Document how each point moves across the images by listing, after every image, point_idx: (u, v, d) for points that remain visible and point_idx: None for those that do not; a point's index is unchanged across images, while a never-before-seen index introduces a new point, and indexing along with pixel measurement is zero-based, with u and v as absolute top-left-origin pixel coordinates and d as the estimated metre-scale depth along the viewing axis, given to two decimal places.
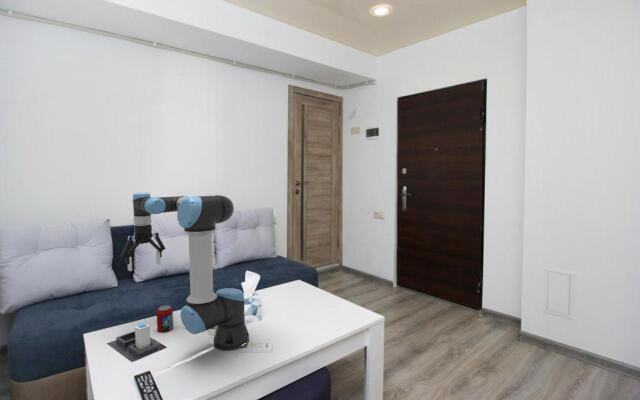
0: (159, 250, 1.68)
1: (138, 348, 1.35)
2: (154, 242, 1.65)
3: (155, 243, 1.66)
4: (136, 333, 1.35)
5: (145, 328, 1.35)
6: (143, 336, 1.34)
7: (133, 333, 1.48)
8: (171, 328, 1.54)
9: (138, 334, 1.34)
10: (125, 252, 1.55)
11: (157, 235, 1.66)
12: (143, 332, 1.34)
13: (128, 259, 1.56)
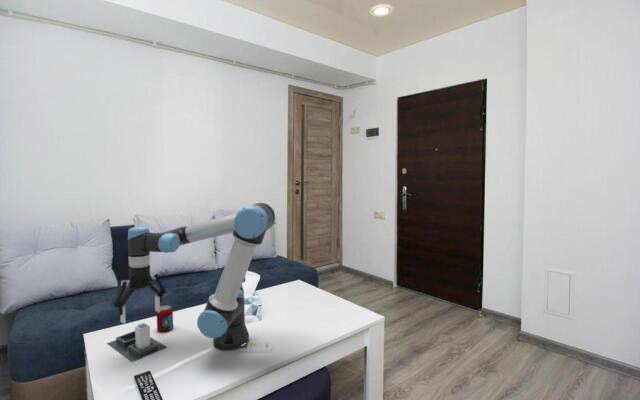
0: (159, 295, 1.40)
1: (138, 348, 1.35)
2: (153, 286, 1.38)
3: (154, 287, 1.38)
4: (136, 333, 1.35)
5: (145, 328, 1.35)
6: (143, 336, 1.34)
7: (133, 333, 1.48)
8: (171, 328, 1.54)
9: (138, 334, 1.34)
10: (117, 301, 1.27)
11: (157, 277, 1.39)
12: (143, 332, 1.34)
13: (121, 309, 1.29)
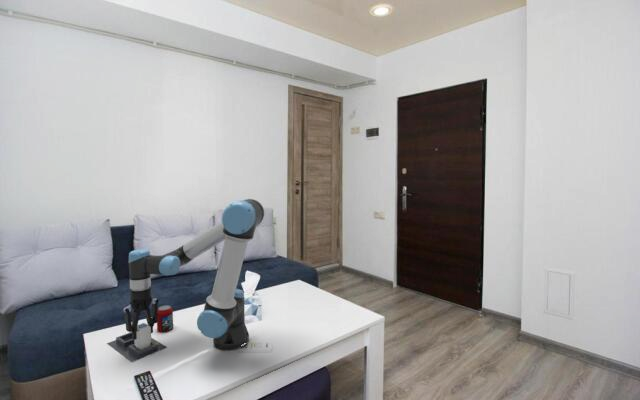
0: (150, 324, 1.37)
1: (138, 348, 1.35)
2: None
3: None
4: None
5: (145, 328, 1.35)
6: (143, 336, 1.34)
7: None
8: (171, 328, 1.54)
9: None
10: (129, 327, 1.31)
11: (156, 303, 1.39)
12: (143, 332, 1.34)
13: (135, 334, 1.33)
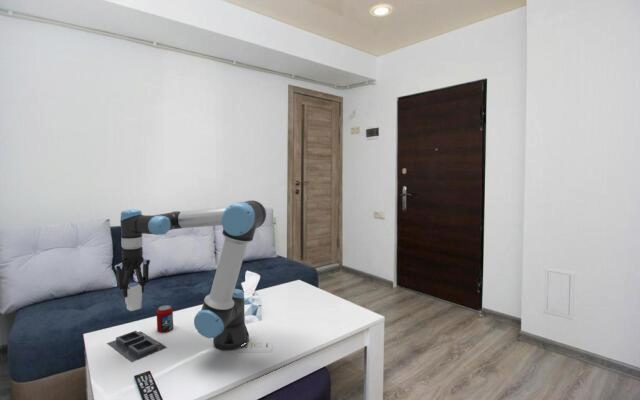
0: (141, 283, 1.39)
1: (129, 306, 1.37)
2: None
3: (141, 273, 1.39)
4: None
5: (136, 287, 1.37)
6: (133, 295, 1.36)
7: (133, 333, 1.48)
8: (171, 328, 1.54)
9: None
10: (121, 284, 1.33)
11: (148, 263, 1.41)
12: (134, 290, 1.37)
13: (126, 291, 1.35)
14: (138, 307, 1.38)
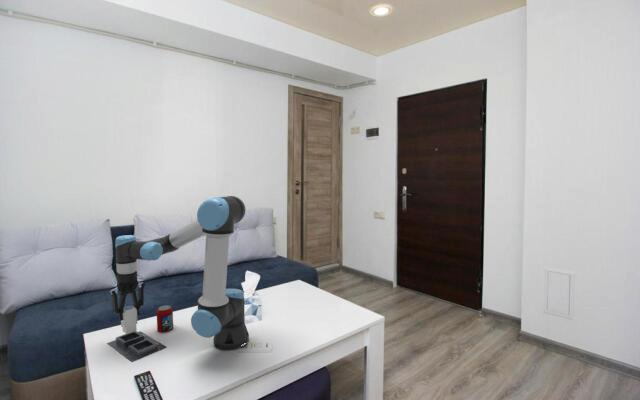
0: (136, 306, 1.44)
1: (124, 329, 1.42)
2: None
3: (136, 296, 1.44)
4: None
5: (131, 310, 1.42)
6: (129, 318, 1.41)
7: (133, 333, 1.48)
8: (171, 328, 1.54)
9: (125, 316, 1.41)
10: (116, 308, 1.38)
11: (142, 286, 1.46)
12: (130, 313, 1.41)
13: (121, 315, 1.40)
14: (133, 329, 1.43)
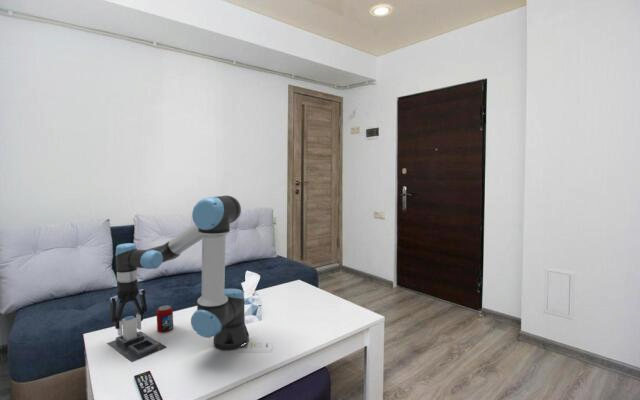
0: (140, 312, 1.46)
1: (125, 339, 1.42)
2: None
3: (138, 303, 1.45)
4: (123, 325, 1.42)
5: (132, 320, 1.42)
6: (129, 328, 1.42)
7: None
8: (171, 328, 1.54)
9: (125, 326, 1.41)
10: (113, 316, 1.37)
11: (143, 293, 1.46)
12: (130, 324, 1.42)
13: (118, 323, 1.39)
14: None
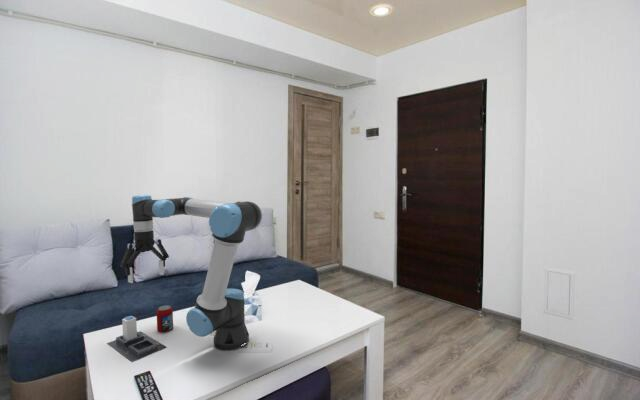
0: (162, 259, 1.51)
1: (125, 339, 1.42)
2: (156, 250, 1.49)
3: None
4: (123, 325, 1.42)
5: (132, 320, 1.42)
6: (129, 328, 1.42)
7: None
8: (171, 328, 1.54)
9: (125, 326, 1.41)
10: (125, 262, 1.38)
11: (160, 242, 1.50)
12: (130, 324, 1.42)
13: (128, 270, 1.39)
14: None
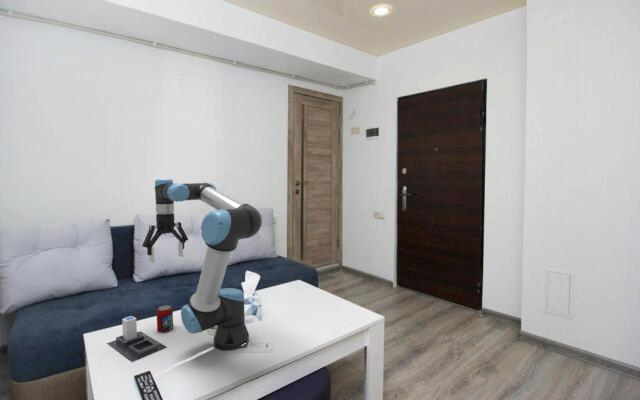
0: (182, 241, 1.57)
1: (125, 339, 1.42)
2: None
3: None
4: (123, 325, 1.42)
5: (132, 320, 1.42)
6: (129, 328, 1.42)
7: None
8: (171, 328, 1.54)
9: (125, 326, 1.41)
10: (147, 242, 1.44)
11: (180, 225, 1.55)
12: (130, 324, 1.42)
13: (150, 250, 1.45)
14: None
